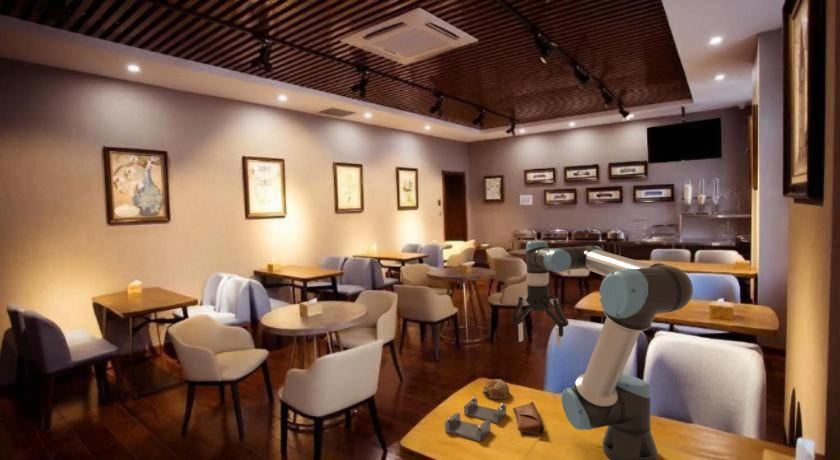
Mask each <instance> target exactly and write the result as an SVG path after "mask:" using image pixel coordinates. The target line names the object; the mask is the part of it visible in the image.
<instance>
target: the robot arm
mask: <svg viewBox="0 0 840 460" xmlns="http://www.w3.org/2000/svg"><path fill="white" fill-rule="evenodd" d="M548 244H549V243H548V242H547V241H545V240H532V241H531V240H530V241H527V242H526V245H525V246H526V247H525V249H526V250H525V256H526V257H525V260H526V261H525V262H526V282H527V285H526V287H527V288H526V292H527V296H524V295H521V296H519V297H518V303H517V305H516V306H515V309H514V312H513V313H512V315H511V318H510V321H511V322H514V323H515V331H516V332H517V333H518V342H520V343H521V342H523V341H524V322H521V321H522V320H523V319H525V317H526V316H527V315H528V313H530V311H531V310H533V311H540V312H543V311H544V312H545V313H547V315H548V316H549V317H550V319H551V320H552V321H553V322H554V324H556V327H555V337H556V339H555V340H556V347H560V346H561V345H562V343H561V342H562V341H561V340H562V339H561V338H562V337H563V336H564V328H565V327H567V326H569V321H568V319H567V317H566V315H565V312H563V309H562V307H561V305H560V301H559V298H558V297H556V298H550V286H549V283H550V281H549V279H550V278H549V271H551V272H553V273H563V272H565V271H568V270H582V269H583V270H587V271H590V272H593V273H596V274H598V275H601V276H603V277H604V279H603V280H602V282H601V285H600V287H599V294H598V295H599V296H600V298H599V301H600V305H601V307H602V310H603V313H604V315H605V317H606V318H605V321H604V324H603V326H602V328H601V331H600V334H599V336H598V339H597V341H596V344H595V346H594V349H593V351H592V354H591V357H590V359H589V362H588V365H587V368H586V369H585V370H586V371H585V372H584V373H582V374H580V375H579V376H578V377H577V378H576V381H575V382H574V384H573V385H574V386H573V387H567V388H566V389H563V390H562V393H561V405H562V409H563V412H564V414H565V417H566V419H567V421H568V422H569V423H570V424H571V426H572V427H573V428H575V429H577V430H579V431H584V430H587V431H591V430H592V429H593V430H594V429H599V428H603V427H607V428H606V431H605V433H604V437H603V439H602V450H603V453H604V454H605V455H606V456H607V457H608V458H610V459H611V460H658V458H659V457H658V447H657V445H656V442H655V440H654V437H653V435H652V430H651V429H652V428H651V399H652V397H651V393H650V391H651V390H650V386H649V384H648V383H647V382H646V381H644V380H643V379H640V378H638V377H637V376H636V377H635V376H632V375H629V374H628V375H627V374H623V372H624V370H625V368H626V366H627V363H628V360H629V359H630V356H631V354H632V351H633V349H634V347H635V345H636V342H637V341H638V338H639V336H640V333H641V332H642V331H646V330H648V329H650V327H651V326H652V323H653V322H654V319H655V316H656V315H659V314H666V313H674V312H678V311H679V310H681V309H683V308H685V307H686V306H687V305H688V304H689V302H690V301H691V300H692V297H693V292H694V287H693V286H694V285H693V283H692V280H691V279H690V276H689V275H688V274H687V273H686V272H685V271H683V270H682V269H680V268H678V267H676V266H672V265H668V264H665V263H660V262H656V263H652V264H650V263H647V262H645V261H644V262H643V261H639V260H636V259H632V258H628V257H625V256H622V255H618V254H614V253H611V252H608V251H604V249H602V247H600V246H598V245H585V246H573V247H572V246H569V247H549V245H548ZM525 303H527V304H528V306H527V307H526V308H525V309H524V310H523V312H521V314H520V315H519V313H520V311H521V309H522V307H523V305H524V304H525ZM550 304H551V305H552V306H553V308H554V309H555V311H556V312H554V311H553V309H552V308H551V306H550ZM556 313H557V314H556Z"/></svg>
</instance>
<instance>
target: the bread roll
mask: <svg viewBox="0 0 840 460" xmlns="http://www.w3.org/2000/svg"><path fill="white" fill-rule="evenodd" d="M482 393H483V394H484V395H485V397H487V398H489V399H490V400H491V399H492V400H496V401H497V400H506V399H509V398H510V388H509V386H508V384H507V382H505V381H503V380H502V379H501V378H500V379H498V378H496V379H492V380H489V381H488V382H487V383H486V384H485V385H483V391H482Z"/></svg>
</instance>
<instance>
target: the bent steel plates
mask: <svg viewBox="0 0 840 460" xmlns="http://www.w3.org/2000/svg"><path fill="white" fill-rule="evenodd" d="M463 411H464V415H465V416H469V417H472V418H476V419H477V420H478V419H479V420H482V421H483V422H482V423H481V424H474V423H471V422H467V421H463V420H461V413H459V412H455V413H454V414H453V415H452V416H448V417H447V418H446V421H445V422H444V425H445V426H444V427H445V431H444V432H445V433H448V434H451V435H455V436H457V437H462V438H465V439H468V440H472V441H476V442H478V443H482V441H483V440H484V439H485V438H486V437H487V435H489V433H491V423H493V424H499V423H500V422H501V421H502V420H503V418H504V417H505V416H506V415H507V405H506V404H505V403H504V402H501V403H500V405H499V407H498V408H497V409H494V408H490V407H487V406H482V405H478V398H476V396H472V397H471V400H469V402H467V403H466V404H464V406H463Z"/></svg>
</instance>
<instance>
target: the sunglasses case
mask: <svg viewBox="0 0 840 460" xmlns="http://www.w3.org/2000/svg"><path fill="white" fill-rule="evenodd" d="M512 410H513V412H514V414H515V418H516V422H517V430H518V431H519V432H522V433H525V434H530V435H536V436H540V435H543V433H544V432H545V430H544V429H545V428H544V426H543V423H542V420H541V417H540V414H539V411H538V409H537V407H536V405H535V402H534V401H531V402H529V403H526V404H522V405H520V406H515V407H512Z"/></svg>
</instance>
